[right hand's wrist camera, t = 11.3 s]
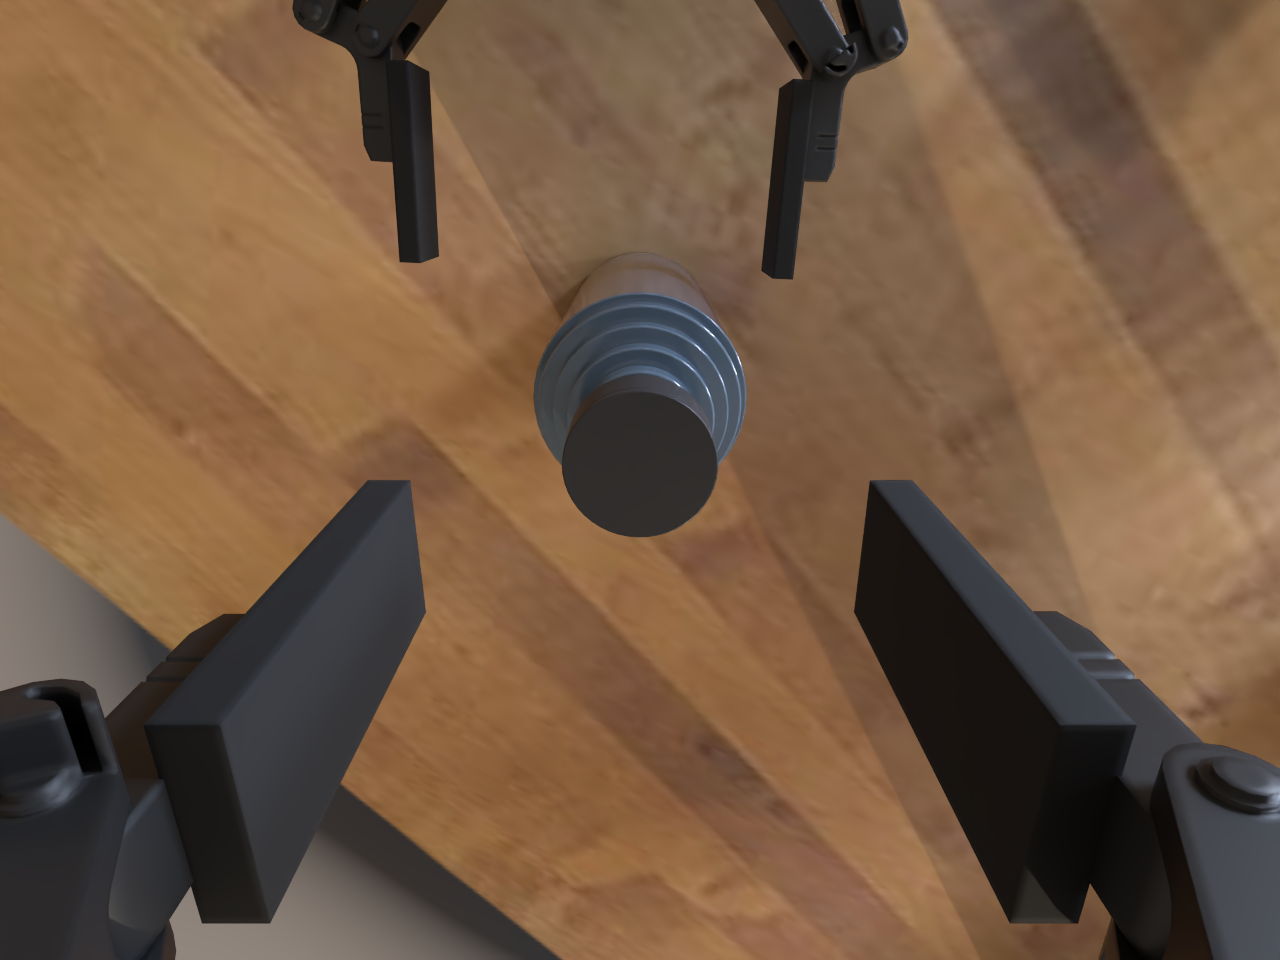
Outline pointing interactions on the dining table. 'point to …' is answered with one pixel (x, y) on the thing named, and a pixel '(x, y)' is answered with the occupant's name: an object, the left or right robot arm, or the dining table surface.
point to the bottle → (639, 346)
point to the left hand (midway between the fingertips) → (598, 268)
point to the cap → (639, 456)
